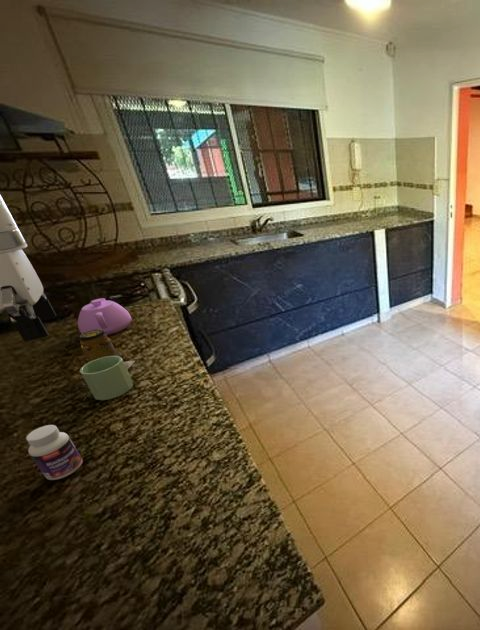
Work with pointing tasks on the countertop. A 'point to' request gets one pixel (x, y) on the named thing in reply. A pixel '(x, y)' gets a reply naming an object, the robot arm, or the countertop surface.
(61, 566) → the countertop surface
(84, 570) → the countertop surface
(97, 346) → the condiment
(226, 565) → the countertop surface
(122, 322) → the teapot
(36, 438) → the pill bottle
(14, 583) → the countertop surface
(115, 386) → the mug
